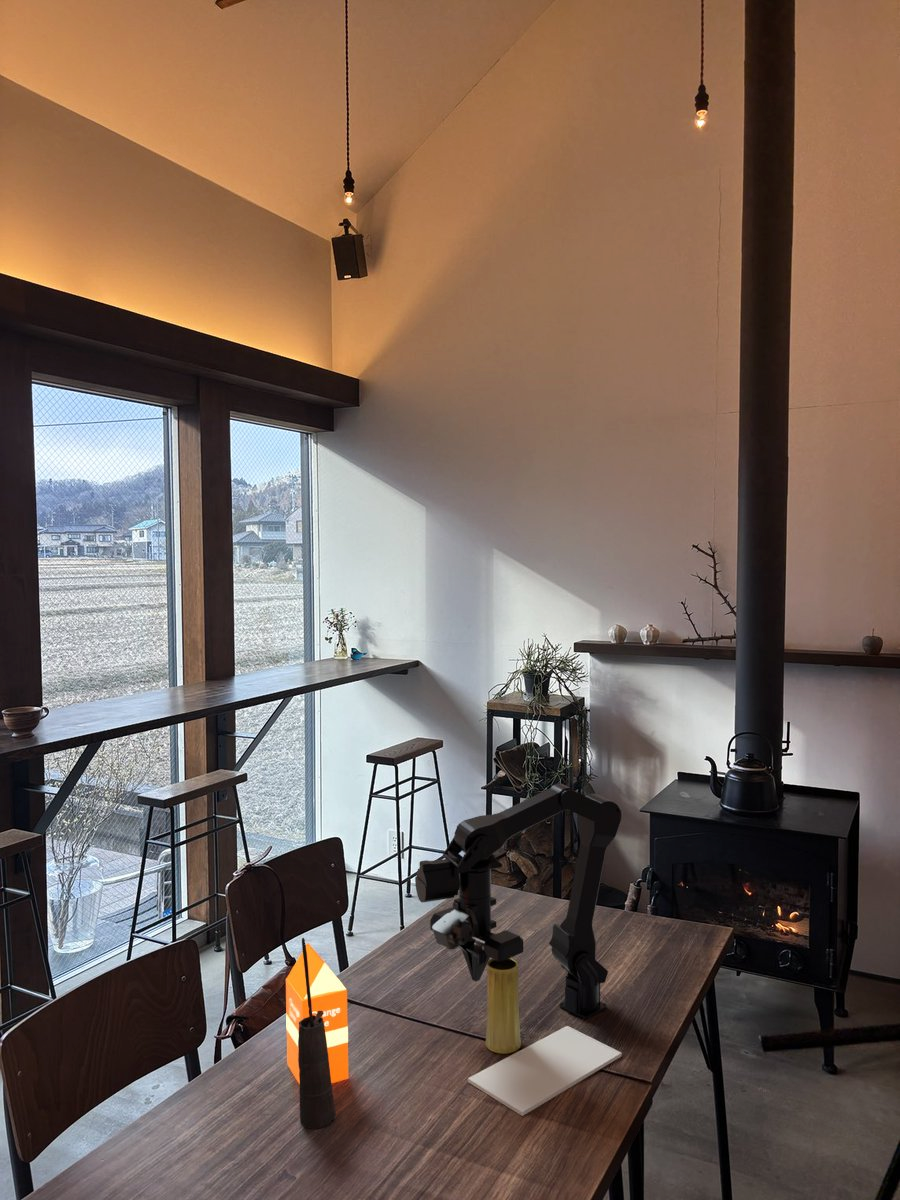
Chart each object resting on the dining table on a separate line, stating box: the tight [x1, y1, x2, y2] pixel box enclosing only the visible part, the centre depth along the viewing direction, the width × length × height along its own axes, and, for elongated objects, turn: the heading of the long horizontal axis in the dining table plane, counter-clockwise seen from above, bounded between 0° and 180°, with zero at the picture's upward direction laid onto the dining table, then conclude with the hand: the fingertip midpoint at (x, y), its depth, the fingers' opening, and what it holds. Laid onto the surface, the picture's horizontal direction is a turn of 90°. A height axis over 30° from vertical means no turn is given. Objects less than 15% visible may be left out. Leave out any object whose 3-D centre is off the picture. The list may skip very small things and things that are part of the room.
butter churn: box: [298, 937, 336, 1130], centre depth 134 cm, size 9×10×28 cm
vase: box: [485, 957, 522, 1055], centre depth 153 cm, size 6×6×14 cm
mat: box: [467, 1025, 623, 1117], centre depth 145 cm, size 24×12×1 cm, turn 132°
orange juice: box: [285, 942, 349, 1085], centre depth 145 cm, size 8×9×20 cm
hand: (476, 980), depth 158 cm, fingers closed
